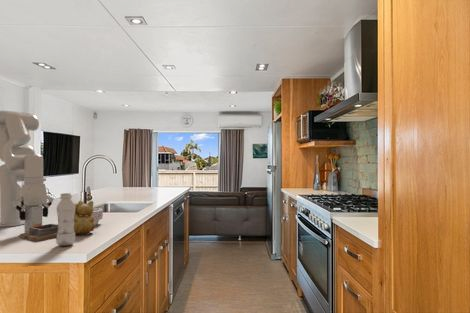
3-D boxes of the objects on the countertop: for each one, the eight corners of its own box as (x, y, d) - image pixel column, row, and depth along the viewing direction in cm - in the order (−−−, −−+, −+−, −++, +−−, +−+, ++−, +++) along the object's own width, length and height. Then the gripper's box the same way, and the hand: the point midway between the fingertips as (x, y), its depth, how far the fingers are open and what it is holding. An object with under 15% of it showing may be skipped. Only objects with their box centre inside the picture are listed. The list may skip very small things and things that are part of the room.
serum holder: (20, 237, 136) (20, 228, 136) (55, 230, 149) (55, 222, 149) (37, 241, 129) (37, 231, 129) (72, 234, 142) (72, 225, 142)
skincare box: (32, 233, 143) (32, 207, 143) (24, 233, 144) (24, 206, 144) (42, 230, 149) (42, 205, 149) (35, 230, 150) (35, 205, 150)
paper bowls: (109, 224, 164) (109, 208, 164) (81, 229, 151) (81, 213, 151) (91, 221, 172) (91, 206, 172) (63, 226, 159) (63, 210, 159)
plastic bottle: (60, 243, 126) (60, 193, 126) (78, 243, 126) (78, 192, 126) (52, 248, 119) (52, 194, 119) (71, 247, 120) (71, 194, 120)
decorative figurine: (96, 231, 147) (96, 199, 147) (94, 235, 139) (94, 201, 139) (73, 233, 144) (73, 200, 144) (69, 237, 136) (69, 202, 136)
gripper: (48, 180, 156) (48, 215, 155) (8, 182, 141) (9, 220, 141) (57, 180, 152) (57, 216, 152) (17, 182, 137) (17, 222, 137)
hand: (34, 218), depth 146 cm, fingers open, 9 cm apart
